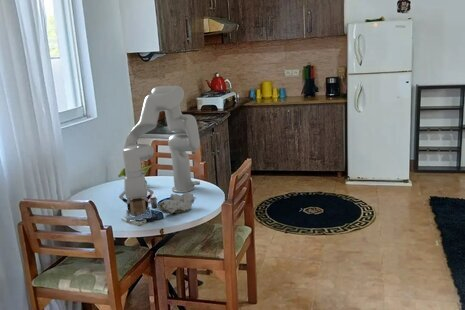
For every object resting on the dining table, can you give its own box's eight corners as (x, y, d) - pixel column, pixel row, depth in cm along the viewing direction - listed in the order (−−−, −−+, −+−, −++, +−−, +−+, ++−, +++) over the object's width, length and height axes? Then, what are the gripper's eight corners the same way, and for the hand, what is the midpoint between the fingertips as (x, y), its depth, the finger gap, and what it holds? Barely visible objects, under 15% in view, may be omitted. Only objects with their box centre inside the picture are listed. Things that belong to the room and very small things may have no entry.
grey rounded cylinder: (156, 206, 231) (155, 196, 230) (157, 207, 229) (156, 198, 228) (151, 206, 231) (149, 197, 230) (151, 208, 228) (150, 198, 227)
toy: (133, 191, 275) (118, 171, 273) (161, 173, 270) (146, 152, 268) (128, 196, 267) (113, 175, 265) (157, 177, 262) (142, 156, 260)
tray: (150, 210, 225) (150, 206, 225) (152, 218, 214) (151, 214, 214) (126, 214, 223) (125, 210, 222) (126, 222, 212) (126, 218, 211)
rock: (172, 227, 215) (168, 212, 209) (157, 217, 221) (153, 202, 215) (201, 204, 225) (198, 189, 219) (186, 195, 232) (183, 180, 225)
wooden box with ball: (130, 210, 221) (129, 198, 219) (145, 208, 222) (144, 196, 221) (131, 216, 213) (129, 204, 211) (146, 214, 214) (145, 201, 213)
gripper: (152, 169, 219) (156, 204, 223) (114, 174, 216) (119, 210, 220) (153, 173, 212) (157, 209, 216) (114, 178, 208) (119, 215, 212)
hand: (138, 209), depth 218 cm, fingers closed on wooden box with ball, 7 cm apart
